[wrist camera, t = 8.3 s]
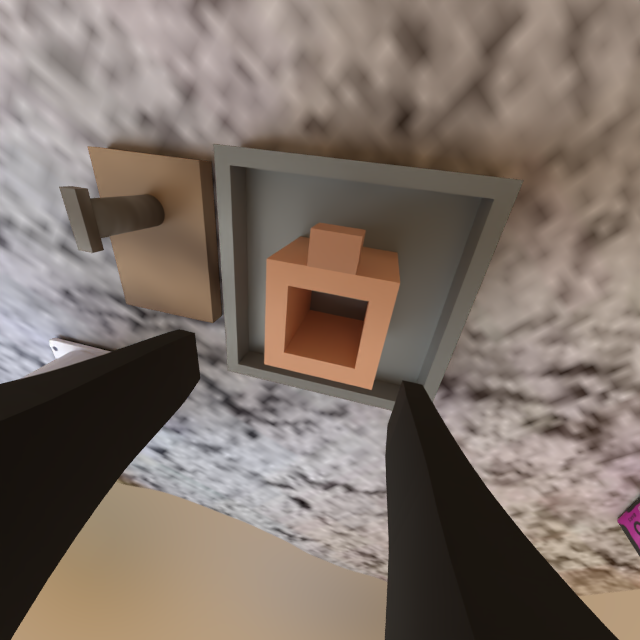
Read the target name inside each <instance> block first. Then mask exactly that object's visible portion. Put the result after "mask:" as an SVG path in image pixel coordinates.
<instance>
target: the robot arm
mask: <svg viewBox="0 0 640 640" xmlns="http://www.w3.org/2000/svg"><path fill="white" fill-rule="evenodd" d="M49 343H50V346H51V348H52V350H53V353H54V355H55V357H56V360H54V361H52V362H50V363H48V364H47V365H45V366H43V367H41V368H39V369H37V370H36V371H34V372H32V373H30V374H28V375H26V376H25V377H23V378H21V379H18V380H14V381H10V382H6V383H2V384H0V640H11V638H12V637H13V635H14V633H15V632H16V630H17V628H18V627H19V625H20V623H21V622H22V620H23V619H24V617H25V615H26V614H27V612H28V610H29V609H30V607H31V606H32V604H33V603H34V601H35V599H36V598H37V596H38V594H39V593H40V591H41V590H42V588H43V586H44V585H45V583H46V582H47V580H48V578H49V577H50V575H51V574H52V572H53V571H54V569H55V568H56V566H57V565H58V563H59V562H60V560H61V559H62V557H63V556H64V554H65V553H66V551H67V550H68V548H69V547H70V545H71V544H72V542H73V541H74V539H75V538H76V536H77V535H78V533H79V532H80V531H81V529H82V528H83V526H84V525H85V523H86V522H87V521H88V519H89V518H90V516H91V515H92V513H93V512H94V510H95V509H96V508H97V507H98V505H99V504H100V502H101V501H102V499H103V498H104V497H105V495H106V494H107V493H108V492H109V490H110V489H111V488H112V486H113V485H114V484H115V482H116V481H117V479H118V478H119V477H120V475H121V474H122V473H123V472H124V470H125V469H126V468H127V467H128V465H129V464H130V463H131V462H132V461H133V459H134V458H135V457H136V456H137V455H138V454H139V453H140V452H141V450H142V449H143V448H144V447H145V446H146V445H147V444H148V443H149V441H150V440H151V439H152V438H153V437H154V436H155V435H156V434H157V433H158V431H159V430H160V429H161V428H162V427H163V426H164V425H165V424H166V422H167V421H168V420H169V419H170V418H171V417H172V416H173V415H174V413H175V412H176V411H177V410H178V409H179V408H180V407H181V405H182V404H183V403H184V402H185V400H186V399H187V397H188V396H189V395H190V393H191V392H192V390H193V389H194V387H195V386H196V384H197V383H198V381H199V380H200V372H199V364H198V356H197V347H196V339H195V333H193V332H188V331H184V330H175V331H171V332H168V333H165V334H162V335H159V336H156V337H153V338H150V339H147V340H144V341H141V342H138V343H135V344H133V345H130V346H127V347H124V348H121V349H118V350H115V351H112V352H110V351H106V350H102V349H98V348H94V347H90V346H86V345H82V344H78V343H74V342H70V341H66V340H62V339H58V338H52V339H50V340H49ZM385 459H386V486H387V510H388V533H389V561H388V585H387V607H386V626H385V627H386V628H385V640H619V639H618V638H617V637H616V636H615V635H614V634H613V633H612V632H611V631H610V630H609V629H608V628H607V627H606V626H605V625H604V624H603V623H602V622H601V621H600V619H599V618H598V617H597V616H596V615H595V614H594V613H593V612H592V611H591V610H590V609H589V608H588V607H587V605H586V604H585V603H584V602H583V601H582V600H581V599H580V598H579V597H578V596H577V595H576V594H575V592H574V591H573V590H572V589H571V588H570V587H569V586H568V585H567V583H566V582H565V581H564V580H563V579H562V578H561V577H560V575H559V574H558V573H557V572H556V571H555V570H554V569H553V567H552V566H551V565H550V564H549V563H548V562H547V561H546V560H545V558H544V557H543V556H542V555H541V554H540V553H539V552H538V550H537V549H536V548H535V547H534V546H533V544H532V543H531V542H530V541H529V540H528V539H527V537H526V536H525V535H524V534H523V533H522V531H521V530H520V529H519V528H518V526H517V525H516V524H515V523H514V521H513V520H512V519H511V518H510V516H509V515H508V514H507V513H506V511H505V510H504V509H503V507H502V506H501V505H500V504H499V502H498V501H497V500H496V499H495V497H494V496H493V495H492V493H491V492H490V491H489V489H488V488H487V487H486V485H485V484H484V482H483V481H482V480H481V478H480V477H479V475H478V474H477V472H476V471H475V470H474V468H473V467H472V465H471V464H470V462H469V461H468V459H467V458H466V456H465V455H464V453H463V452H462V450H461V449H460V447H459V446H458V444H457V442H456V441H455V439H454V438H453V436H452V434H451V433H450V431H449V430H448V428H447V426H446V425H445V423H444V421H443V420H442V418H441V416H440V415H439V413H438V411H437V409H436V408H435V406H434V404H433V402H432V401H431V399H430V397H429V395H428V393H427V392H426V390H425V388H424V387H423V385H422V384H417V383H413V382H408V381H404V380H402V383H401V386H400V389H399V392H398V395H397V398H396V401H395V404H394V407H393V411H392V414H391V417H390V420H389V423H388V427H387V440H386V455H385Z"/></svg>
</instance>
